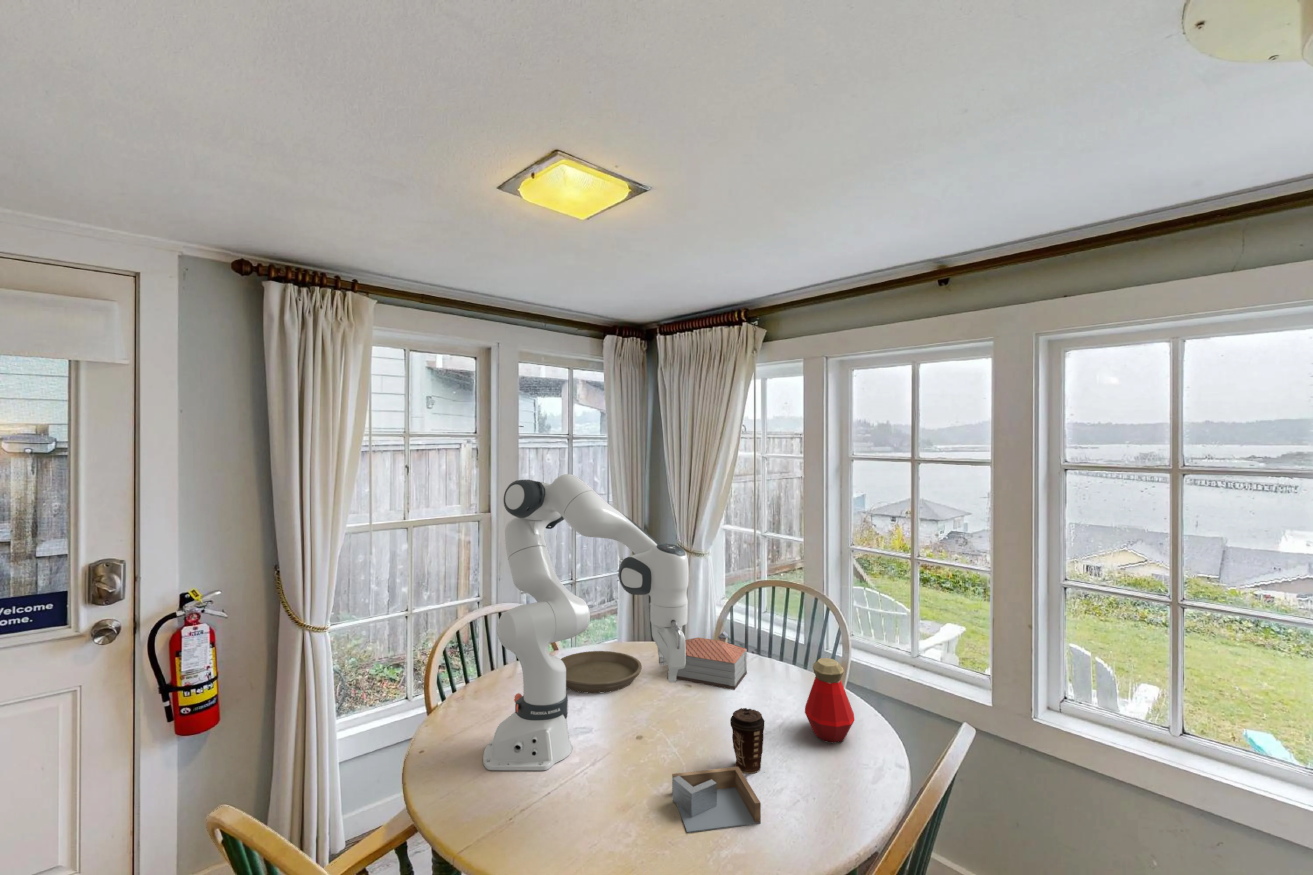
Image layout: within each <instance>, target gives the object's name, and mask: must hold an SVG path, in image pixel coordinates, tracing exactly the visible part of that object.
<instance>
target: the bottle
mask: <svg viewBox="0 0 1313 875" xmlns="http://www.w3.org/2000/svg"><path fill="white" fill-rule="evenodd" d="M812 669H813V673H814V675H815V677H814V681H813V682H812V685H811V689H810V691H809V694H808V698H807V699H806V700H807V701H806V703H805V706H804V714H805V715H806V718H807V720H808V722H809V725H810V727H811V730H812V731H813V734H814V735H815V736H816V738H818V739H819V740H821V741H822V742H826V743H830V744H839V743H842V742H843V741H844V740H846V737H847V735H848V733H849V732H850V729H851V728H852V726H853V724H854V722H855V713H854V711H853V708H852V706H851V703H850V701H849V697H848V695H847V693H846V690H845V689H846V688H845V687H844V685H843V681H842V680H841V679H842V677H843V674H844V670H845V669H844V668H843V667H842V665H841V664H840V663H839V662H838V661H837V660H836V659H834V658H827V657H822V658H821V657H820V658H819V659H818V660H816V661H815V662H814V663H813V664H812Z"/></svg>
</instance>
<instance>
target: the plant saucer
mask: <svg viewBox="0 0 1313 875" xmlns="http://www.w3.org/2000/svg"><path fill="white" fill-rule="evenodd" d="M560 659H561V660H562V661H563V663H564V664H565V667H566V689H567V690H570V689H571V691H573V690H574V692H578V691H579V692H578V693H584V692H588V693H587V694H601V693H600V692H604V693H610V691H611V692H615V691H618V689H619V690H622V689H624V688H626V687H629V684H630V685H631V684H632V683H633V682H634V681H635V679H636V678H638V676H639V674H640V673H641V671H642V662H640V660H639V659H638V658H636V657H634V656H632V655H630V654H627V653H622V652H619V651H608V650H591V651H582V652H576V653H573V654H568V655H566V656H564V657H562V658H560Z"/></svg>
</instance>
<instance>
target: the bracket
mask: <svg viewBox="0 0 1313 875" xmlns="http://www.w3.org/2000/svg"><path fill="white" fill-rule="evenodd" d="M672 802H673V803H675V804H676V806H677V805H678V806H679V807H680V808H681V809H682V810H684V811H685V812H686V813H687V814H688V815H689V816H690V817H691V818H692V817H694V816H696V815H698V814H701V813H703V812H705V811H707V810H710V809H712V808H714V807H716V806H717V783H716V782H715V781H713V780H712V779H711V780H709V781H706V782H704V783H701V784H699V785H697V786H694V787H693V786H691V785H690V784H689V783H688V782H686V781H685V780H684V779H683V778H682V777H680V776H677V777H674V778H673V793H672Z"/></svg>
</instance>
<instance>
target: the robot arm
mask: <svg viewBox="0 0 1313 875" xmlns="http://www.w3.org/2000/svg"><path fill="white" fill-rule="evenodd" d="M502 499H503V500H502V501H503V506H504V508H505V510H506V511H507V512H508V513H509V514H510V515H511V516H513V517H514V518H512V519H511V520H510V521H508V522H507V524H506V526H505V529H504V542H505V543H504V544H505V549H506V557H507V560H508V564H509V569H510V573H511V577H512V582H513V584H514V586H515V587H516V588H517V589H518V590H519V591H520V592H523V593H526V594H528V595H530V596H531V597H532V598H533V599H534V600H535V601H536V602H531V603H526V604H521V605H518V606H514V607H513V608H510V609H508V610H506V611H504V612H502V614H501V615H500V616H499V619H498V622H497V627H496V632H497V633H496V634H497V637H498V638H497V639H498V640H499V642H500V643H501V645H502V646H503V647H504V648H505V649H506V650H508V651H510V652H511V653H513V654H514V655H515V657H516V658H517V659H518V662H519V663H520V667H521V669H522V681H523V682H522V684H523V686H522V687H523V689H522V690H523V691H522V692H523V693H520V692H518V693H516V694H515V695H514V698H513V701H514V703H515V704H514V705H515V707H514V708H515V709H514V712H513V713H512V714H510V715H508V717H507V718H506V719H504V720H503V721H502V722H500V723H499V724H498V726H497V728H496V730H495V732H494V735H493V737H492V740H490V742H489V743H487V745H486V746H485V748H484V752H483V754H482V755H483V756H482V764H483V767H484V768H485V769H486V770H488V771H547V770H549V769H550V768H552V766H554V765H555V764H556V763H558V762H561V761H562V760H564V759H566V758H567V757H568V756H570V754H571V752H572V750H573V745H572V743H571V740H570V735H569V729H568V728H569V727H568V719H567V718H568V714H569V698H568V693H567V688H566V667H565V664H564V663H563V661H562V660H561V658H559V657H558V656H556V655H552V654H550V653H549V644H552V643H557V642H562V641H565V640H569V639H572V638H574V637H577V636H579V635H580V634H582V633H584V632H585V631H587V629H588V627H589V626H590V622H591V610H590V608H589V605H588V604H587V603H586V601H585V600H584V599H583V598H582V597H579V596H577V595H575V594H574V593H573V592H572V591H570V590H569V589H567V587H566V586H565V585H564V584H563V583H562V582H561V580H560V578H559V577H558V575H557V573H556V571H555V568H554V565H553V562H552V559H551V556H550V553H549V550H548V549H549V548H548V545H547V543H546V539H545V530H546V529H547V530H551V529H554V528H555V527H556V525H558V524H559V523H561V522H563V521H565V522H566V523H567V524H568V526H570V528H571V529H573V531H575V532H577V533H578V534H579V535H581V536H583V537H588V538H598V539H599V538H600V539H608V540H614V541H617V542H619V543H621V544H623V545H624V546H625V547H627V548H628V549H629V550H630V551H631V552H633V553H634V554H632V555H630V556H627V557H625V558H624V559H622V561H621V562H620V564H619V568H618V579H619V580H618V582H619V584H620V586H621V587H622V588H623V590H624V591H625V592H626V593H628V594H630V595H634V596H635V595H637V596H644V595H647V596H649V597H650V602H649V603H648V612H649V621H650V626H651V636H652V639H653V641H654V643H655V645H656V647H657V653H658V664H659V665H660V666H661V667H662V666H666V665H667V668H668V672H666V673H667V677H666V679H667V681H668V683H669V684H670V683H676V682H677V679H676V675H677V672H678V669H683V668H684V667H685V664H686V647H685V640H686V637H685V634H684V632H683V631H682V629H683V626H686V625H687V623H688V612H689V610H688V608H689V600H688V599H689V598H688V594H687V593H688V592H687V591H688V588H689V584H690V582H689V578H690V573H689V572H690V571H689V570H690V569H689V568H690V567H689V566H690V564H689V559H688V558H689V557H688V554H687V552H686V550H685V549H684V548H682V547H681V546H679V545H676V544H672V543H660V542H658V541H657V540H656V539H655V538H654V537H653V536H651V535H650V534H649V533H647V531H645V530H644V529H643V528H642V527H640V526H639V525H638V524H637V523H636V522H635V521H633V520H632V519H631V518H629V517H628V516H627V515H625V514H624V513H623V512H620V511H619V510H618V509H616V508H615V507H614V506H612V505H611V504H609V503H608V502H606V500H604V498H602V497H601V496H600V495H599V494H598V493H597V492H596V491H595V490H594V489H593V488H592V487H591V486H589V485H588V484H587V483H586V482H585V481H583V480H582V479H580V478H579V477H578V476H576V475H575V474H572V473H571V474H570V473H565V474H564V473H563V474H561V475H560V476H557V477H556V478H555V479H553V481H552V483H548V482H544V481H537V480H532V479H517V480H514V481H512V482H511V483H510V484H509V485H507V487H506V489H505V491H504V494H503V498H502ZM522 694H523V695H522Z"/></svg>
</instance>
